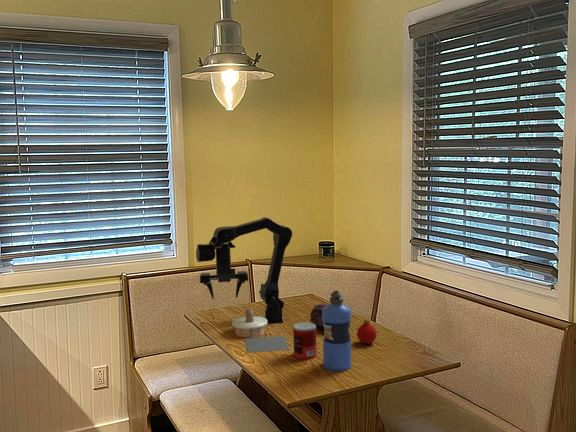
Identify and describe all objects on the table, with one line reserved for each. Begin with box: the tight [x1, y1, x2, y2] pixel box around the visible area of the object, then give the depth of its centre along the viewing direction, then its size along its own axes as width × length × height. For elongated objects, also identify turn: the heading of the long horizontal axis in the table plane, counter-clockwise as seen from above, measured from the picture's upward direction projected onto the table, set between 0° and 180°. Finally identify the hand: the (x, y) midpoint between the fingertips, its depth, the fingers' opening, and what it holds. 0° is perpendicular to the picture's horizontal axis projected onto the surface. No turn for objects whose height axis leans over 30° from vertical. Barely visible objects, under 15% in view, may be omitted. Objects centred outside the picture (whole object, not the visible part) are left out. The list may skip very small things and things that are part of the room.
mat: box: [244, 335, 291, 354], centre depth 214 cm, size 15×15×1 cm
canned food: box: [292, 321, 317, 361], centre depth 201 cm, size 8×8×11 cm
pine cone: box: [309, 303, 330, 329], centre depth 230 cm, size 18×10×10 cm, turn 18°
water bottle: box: [322, 290, 352, 372], centre depth 192 cm, size 9×9×25 cm
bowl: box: [234, 325, 266, 338], centre depth 227 cm, size 11×12×4 cm
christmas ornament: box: [356, 316, 378, 345], centre depth 213 cm, size 7×7×10 cm
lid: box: [231, 308, 268, 329], centre depth 227 cm, size 14×14×5 cm
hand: (224, 298), depth 234 cm, fingers open, 9 cm apart
